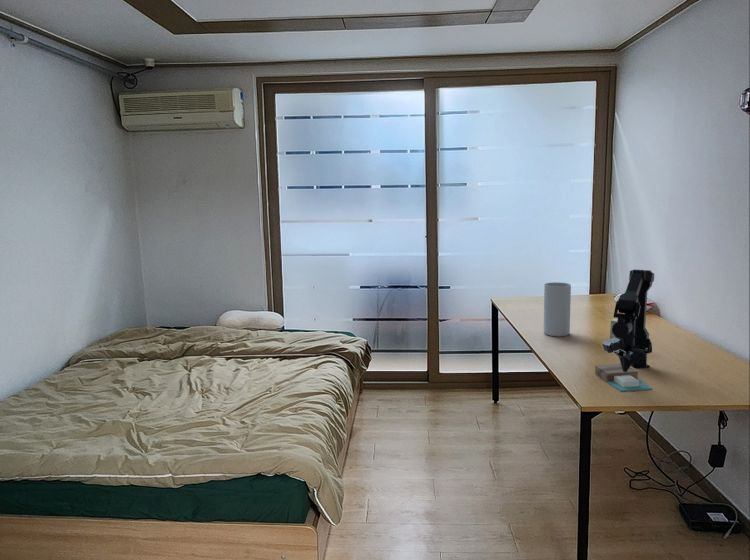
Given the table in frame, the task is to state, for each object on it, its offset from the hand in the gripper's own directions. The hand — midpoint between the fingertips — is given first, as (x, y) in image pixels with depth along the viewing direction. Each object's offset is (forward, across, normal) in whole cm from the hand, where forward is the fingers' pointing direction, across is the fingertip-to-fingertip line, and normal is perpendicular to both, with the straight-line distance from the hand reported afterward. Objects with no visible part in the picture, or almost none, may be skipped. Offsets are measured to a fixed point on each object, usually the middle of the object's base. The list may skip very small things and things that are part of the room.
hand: (624, 371), depth 222 cm
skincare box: (+5, -46, +22) cm, 52 cm away
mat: (+4, +4, 0) cm, 6 cm away
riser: (+4, -6, 0) cm, 8 cm away
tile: (+4, +2, 0) cm, 4 cm away
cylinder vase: (+5, -73, +4) cm, 74 cm away
